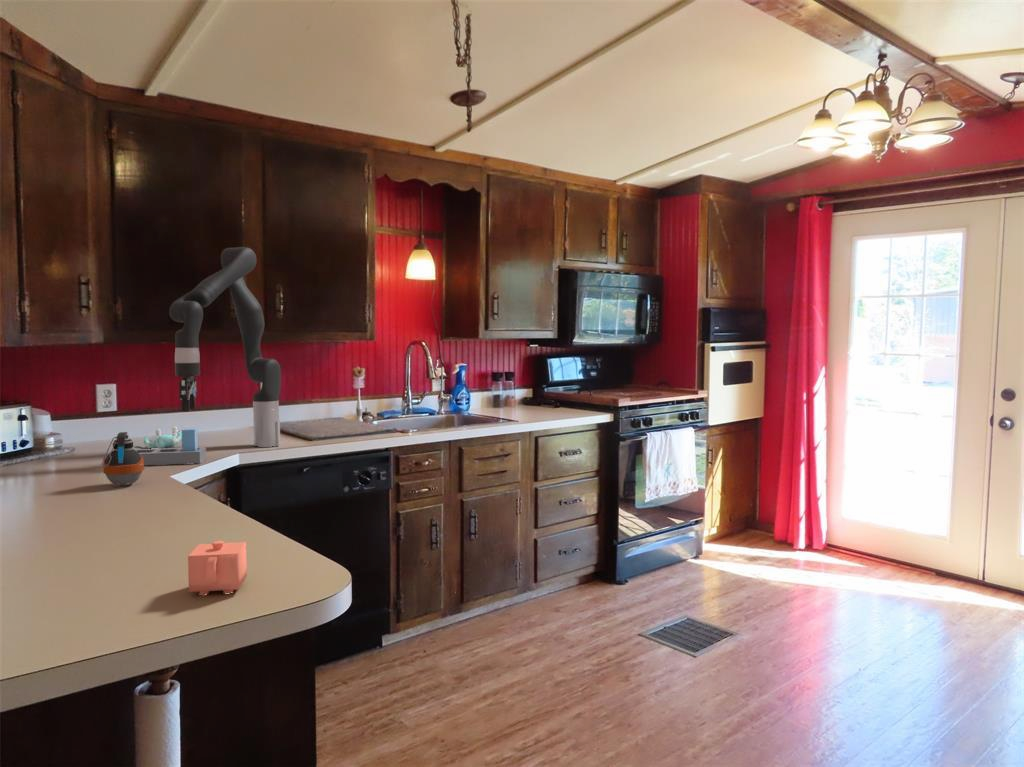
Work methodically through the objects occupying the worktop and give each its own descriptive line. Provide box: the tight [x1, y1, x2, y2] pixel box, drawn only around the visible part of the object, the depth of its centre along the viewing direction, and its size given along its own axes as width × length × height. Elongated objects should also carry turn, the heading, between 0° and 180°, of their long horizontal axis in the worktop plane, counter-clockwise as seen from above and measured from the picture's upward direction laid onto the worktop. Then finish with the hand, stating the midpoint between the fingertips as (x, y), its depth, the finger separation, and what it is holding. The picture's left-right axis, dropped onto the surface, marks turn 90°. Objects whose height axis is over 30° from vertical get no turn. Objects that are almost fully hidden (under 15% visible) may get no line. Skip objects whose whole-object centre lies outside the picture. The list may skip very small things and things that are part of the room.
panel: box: [134, 446, 207, 466], centre depth 236 cm, size 22×10×4 cm, turn 103°
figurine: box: [143, 426, 182, 449], centre depth 271 cm, size 13×6×30 cm
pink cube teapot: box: [187, 540, 248, 595], centre depth 120 cm, size 8×12×8 cm, turn 10°
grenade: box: [101, 431, 145, 487], centre depth 200 cm, size 11×10×15 cm
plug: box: [181, 427, 199, 451], centre depth 237 cm, size 4×4×11 cm
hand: (188, 410), depth 236 cm, fingers open, 8 cm apart
